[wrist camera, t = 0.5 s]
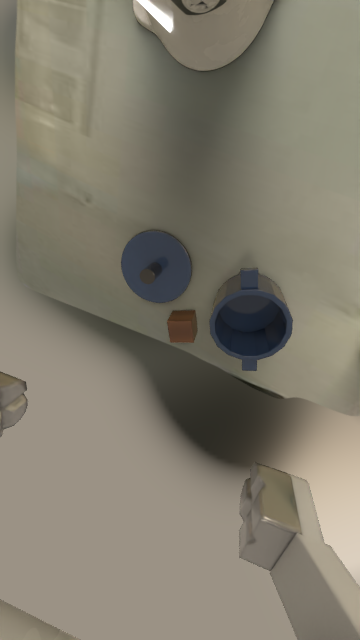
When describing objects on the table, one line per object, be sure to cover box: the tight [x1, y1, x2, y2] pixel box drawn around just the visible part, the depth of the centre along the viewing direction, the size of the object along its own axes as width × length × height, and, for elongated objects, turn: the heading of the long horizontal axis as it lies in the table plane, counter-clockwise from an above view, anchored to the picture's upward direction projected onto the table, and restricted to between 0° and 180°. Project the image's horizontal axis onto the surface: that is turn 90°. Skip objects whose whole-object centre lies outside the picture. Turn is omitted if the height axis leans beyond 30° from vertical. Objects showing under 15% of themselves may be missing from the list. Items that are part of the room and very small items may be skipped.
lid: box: [121, 231, 192, 303], centre depth 43 cm, size 13×13×6 cm
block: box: [167, 310, 197, 343], centre depth 47 cm, size 4×4×4 cm
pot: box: [210, 268, 293, 371], centre depth 41 cm, size 12×17×8 cm
